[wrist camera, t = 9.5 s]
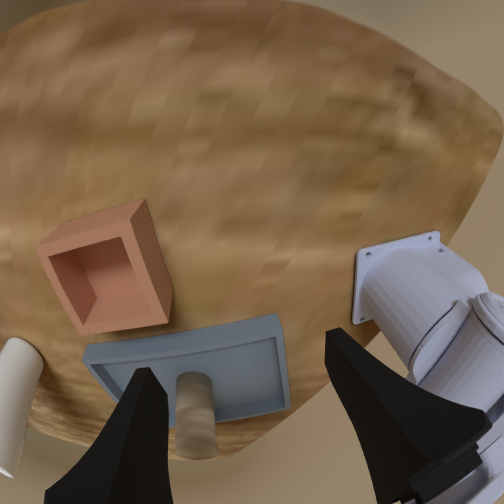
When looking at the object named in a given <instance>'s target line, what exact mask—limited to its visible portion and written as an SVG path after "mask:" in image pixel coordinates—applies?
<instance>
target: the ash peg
mask: <svg viewBox="0 0 504 504" xmlns="http://www.w3.org/2000/svg"><path fill="white" fill-rule="evenodd" d="M175 453H176V454H177V455H178V456H180V457H182V458H186V459H192V460H204V459H210V458H213V457H215V456H217V455H218V448H217V438H216V428H215V417H214V406H213V393H212V381H211V379H210V377H209V376H207V375H206V374H204V373H201V372H194V371H191V372H185V373H182V374H180V375H179V376H178V377H177V380H176V408H175Z"/></svg>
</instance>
